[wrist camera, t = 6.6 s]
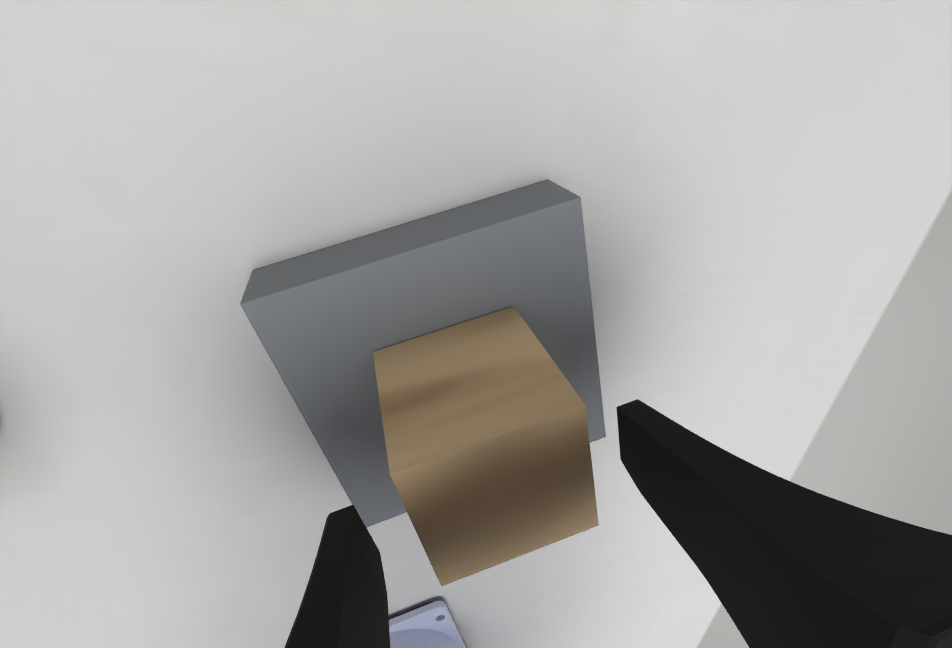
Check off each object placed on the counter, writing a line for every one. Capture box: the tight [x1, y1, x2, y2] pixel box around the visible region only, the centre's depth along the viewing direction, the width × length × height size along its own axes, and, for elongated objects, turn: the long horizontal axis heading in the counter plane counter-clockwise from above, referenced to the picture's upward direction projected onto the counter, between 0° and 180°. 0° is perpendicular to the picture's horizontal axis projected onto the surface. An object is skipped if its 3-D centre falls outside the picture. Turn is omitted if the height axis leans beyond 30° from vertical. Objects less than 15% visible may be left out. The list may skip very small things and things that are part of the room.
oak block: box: [373, 306, 598, 586], centre depth 14 cm, size 5×5×5 cm
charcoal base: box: [240, 180, 606, 527], centre depth 17 cm, size 10×10×3 cm
